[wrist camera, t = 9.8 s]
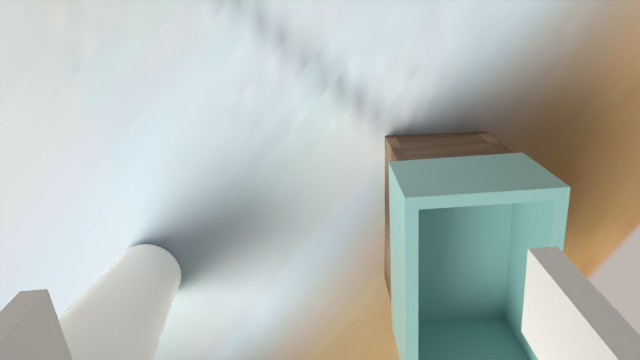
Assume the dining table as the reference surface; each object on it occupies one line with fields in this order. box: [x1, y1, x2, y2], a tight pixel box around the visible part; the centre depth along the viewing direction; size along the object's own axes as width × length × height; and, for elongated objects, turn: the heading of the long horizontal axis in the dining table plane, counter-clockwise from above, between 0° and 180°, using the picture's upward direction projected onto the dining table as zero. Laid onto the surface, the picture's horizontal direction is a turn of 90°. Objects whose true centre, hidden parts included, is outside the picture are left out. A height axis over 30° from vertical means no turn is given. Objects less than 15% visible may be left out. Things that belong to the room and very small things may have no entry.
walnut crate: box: [385, 132, 512, 300], centre depth 35 cm, size 12×7×6 cm, turn 3°
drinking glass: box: [58, 244, 181, 360], centre depth 32 cm, size 7×7×15 cm
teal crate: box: [389, 153, 571, 360], centre depth 30 cm, size 12×8×7 cm
